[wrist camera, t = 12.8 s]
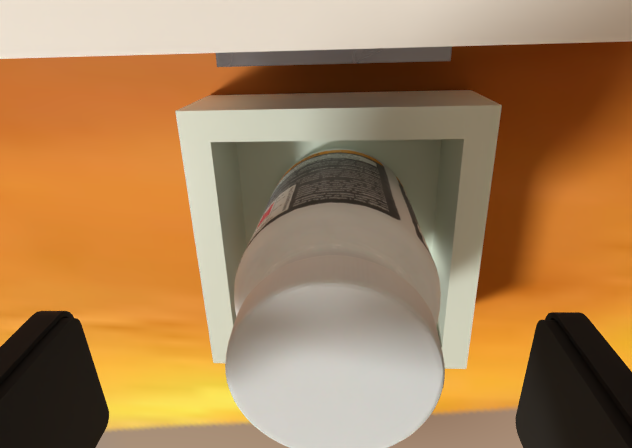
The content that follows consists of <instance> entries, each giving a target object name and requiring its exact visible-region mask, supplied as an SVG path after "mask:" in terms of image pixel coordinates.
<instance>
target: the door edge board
mask: <svg viewBox="0 0 632 448" xmlns="http://www.w3.org/2000/svg"><path fill="white" fill-rule="evenodd" d="M628 41H632V0H0V59H9V58H45V57H82V56H118V55H154V54H191V53H216V60H217V67H232V66H272V65H312V64H351V63H391V62H431V61H451V51H452V46H482V45H519V44H555V43H591V42H628Z"/></svg>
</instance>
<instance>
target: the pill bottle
mask: <svg viewBox="0 0 632 448" xmlns="http://www.w3.org/2000/svg"><path fill="white" fill-rule="evenodd" d="M440 300H441V290H440V281H439V277H438V272H437V268H436V265H435V263H434V260H433V258H432V256H431V253H430V251H429V248H428V246H427V244H426V242H425V239H424V236H423V234H422V232H421V229H420V227H419V224H418V221H417V219H416V216H415V213H414V211H413V208H412V206H411V203H410V200H409V198H408V196H407V193H406V191H405V189H404V187H403V186H402V184H401V182H400V181H399V179H398V178H397V176H396V175H395V174H394V173H393V172H392V170H390V169H389V168H388V167H387V166H386V165H385V164H384V163H382V162H381V161H380V160H378V159H376V158H375V157H373V156H371V155H368V154H366V153H364V152H360V151H356V150H352V149H341V148H335V149H327V150H322V151H319V152H316V153H313V154H310V155H308V156H306V157H304V158H302V159H301V160H299V161H298V162H297V163H295V164H294V165H293V166H291V167H290V168H289V169H288V170H287V172H286V173H285V174H284V175H283V176H282V178H281V179H280V181H279V182H278V184H277V186H276V188H275V190H274V192H273V193H272V195H271V198H270V200H269V202H268V204H267V206H266V208H265V211H264V213H263V215H262V217H261V219H260V222H259V224H258V226H257V228H256V230H255V232H254V234H253V236H252V238H251V240H250V242H249V244H248V246H247V248H246V250H245V252H244V254H243V256H242V258H241V261H240V263H239V266H238V270H237V274H236V278H235V286H234V302H235V312H236V320H235V323H234V326H233V329H232V332H231V336H230V339H229V342H228V347H227V353H226V363H225V368H226V378H227V383H228V386H229V389H230V392H231V394H232V397H233V399H234V401H235V403H236V404H237V406H238V407H239V409H240V410H241V412H242V413H243V415H244V416H245V417H246V418H247V419H248V420H249V421H250V422H251V423H252V424H253V425H254V426H255V427H256V428H258V429H259V430H260V431H262V433H264V434H265V435H267V436H268V437H270V438H271V439H273V440H275V441H277V442H279V443H281V444H283V445H285V446H287V447H290V448H388V447H390V446H392V445H394V444H396V443H398V442H400V441H402V440H404V439H405V438H407V437H408V436H410V435H411V434H413V433H414V432H415V431H416V430H417V429H418V428H419V427H420V426H421V425H422V424H423V423H424V422H425V421H426V420H427V419H428V418H429V416H430V415H431V413H432V412H433V410H434V408H435V406H436V404H437V402H438V400H439V398H440V395H441V392H442V388H443V384H444V375H445V364H444V358H443V352H442V348H441V344H440V340H439V336H438V333H437V328H436V325H437V321H438V317H439V311H440Z"/></svg>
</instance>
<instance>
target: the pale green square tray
mask: <svg viewBox="0 0 632 448" xmlns="http://www.w3.org/2000/svg"><path fill="white" fill-rule="evenodd" d="M501 108H502V105H500V104H498V103H496V102H494V101H492V100H490V99H488V98H486V97H484V96H482V95H480V94H478V93H476V92H474V91H472V90H442V91H393V92H344V93H296V94H247V95H209V96H206V97H204V98H202V99H200V100H198V101H196V102H194V103H192V104H189V105H187V106H185V107H183V108H181V109H179V110H177V111H176V118H177V125H178V131H179V138H180V145H181V151H182V158H183V164H184V171H185V178H186V184H187V191H188V197H189V204H190V211H191V217H192V224H193V231H194V237H195V244H196V250H197V257H198V264H199V270H200V277H201V283H202V290H203V297H204V303H205V310H206V317H207V323H208V330H209V336H210V343H211V350H212V356H213V363H226V353H227V347H228V342H229V339H230V336H231V332H232V329H233V326H234V323H235V320H236V312H235V302H234V286H235V278H236V274H237V270H238V266H239V263H240V261H241V258H242V256H243V254H244V252H245V250H246V248H247V246H248V244H249V242H250V240H251V238H252V236H253V234H254V232H255V230H256V228H257V226H258V224H259V222H260V219H261V217H262V215H263V213H264V211H265V208H266V206H267V204H268V202H269V200H270V198H271V195H272V193H273V192H274V190H275V188H276V186H277V184H278V182H279V181H280V179H281V178H282V176H283V175H284V174H285V173H286V172H287V170H288V169H289V168H290V167H291V166H293V165H294V164H295V163H297V162H298V161H299V160H301V159H302V158H304V157H306V156H308V155H310V154H313V153H316V152H319V151H322V150H327V149H335V148H341V149H352V150H356V151H360V152H364V153H366V154H368V155H371V156H373V157H375V158H376V159H378V160H380V161H381V162H382V163H384V164H385V165H386V166H387V167H388V168H389V169H390V170H392V172H393V173H394V174H395V175H396V176H397V178H398V179H399V181H400V182H401V184H402V186H403V187H404V189H405V191H406V193H407V196H408V198H409V200H410V203H411V206H412V208H413V211H414V213H415V216H416V219H417V221H418V224H419V227H420V229H421V232H422V234H423V236H424V239H425V242H426V244H427V246H428V248H429V251H430V253H431V256H432V258H433V260H434V263H435V265H436V268H437V272H438V277H439V281H440V290H441V300H440V311H439V317H438V321H437V325H436V328H437V333H438V336H439V340H440V344H441V348H442V352H443V358H444V364H445V368H450V369H466V367H467V360H468V352H469V345H470V337H471V330H472V323H473V315H474V308H475V300H476V293H477V286H478V278H479V271H480V263H481V256H482V249H483V241H484V234H485V226H486V219H487V212H488V204H489V197H490V189H491V182H492V175H493V167H494V160H495V152H496V145H497V138H498V130H499V123H500V115H501Z"/></svg>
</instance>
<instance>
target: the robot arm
mask: <svg viewBox="0 0 632 448" xmlns="http://www.w3.org/2000/svg"><path fill="white" fill-rule="evenodd" d="M108 419H109V411H108V407H107V404H106V401H105V397H104V394H103V391H102V388H101V385H100V382H99V379H98V375H97V372H96V369H95V366H94V363H93V360H92V357H91V353H90V350H89V347H88V344H87V341H86V338H85V335H84V331H83V328H82V325H81V323H80V321H79V320H78V319H76V318H74V317H73V315H72V314H71V313H70V312H67V311H39V312H36V313H35V314H34V315H32V316H31V317H30V318H29V319H28V320H27V321H26V322H25V323H24V324H23V325H22V326H21V327H20V328H19V329H18V330H17V331H16V332H15V333H14V334H13V335H12V336H11V337H10V338H9V339H8V340H7V341H6V342H5V343H4V344H3V345H2V346H1V347H0V448H95V447H96V445H97V444H98V442H99V440H100V438H101V436H102V434H103V433H104V431H105V429H106V427H107V424H108ZM516 429H517V433H518V436H519V438H520V441H521V443H522V445H523V448H632V372H631V371H630V369H629V368H628V367H627V366H626V364H625V363H624V362H623V361H622V360H621V358H620V357H619V356H618V355H617V353H616V352H615V351H614V350H613V348H612V347H611V346H610V345H609V344H608V342H607V341H606V340H605V339H604V337H603V336H602V335H601V334H600V333H599V331H598V330H597V329H596V328H595V326H594V325H593V324H592V323H591V321H590V320H589V319H588V318H587V317H586V316H585V315H584V314H582V313H549V314H548V315H547V316H546V319H545V320H540V321H539V322H538V323H537V326H536V330H535V334H534V339H533V343H532V348H531V352H530V357H529V361H528V365H527V370H526V374H525V379H524V383H523V387H522V392H521V396H520V401H519V405H518V409H517V414H516Z"/></svg>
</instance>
